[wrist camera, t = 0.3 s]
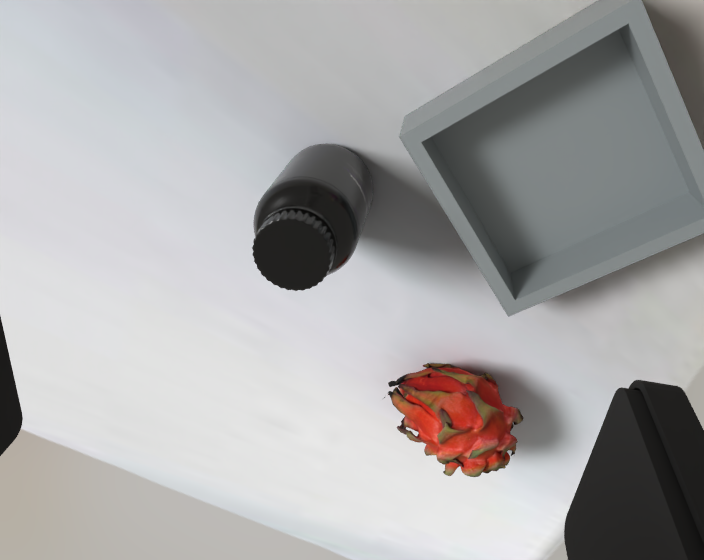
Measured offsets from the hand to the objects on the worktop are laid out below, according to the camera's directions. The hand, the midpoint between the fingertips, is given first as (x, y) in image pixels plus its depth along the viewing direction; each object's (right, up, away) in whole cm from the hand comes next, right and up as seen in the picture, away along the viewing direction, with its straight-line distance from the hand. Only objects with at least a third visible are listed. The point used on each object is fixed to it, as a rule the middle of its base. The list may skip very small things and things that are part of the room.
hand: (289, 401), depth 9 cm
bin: (+15, +11, +33) cm, 38 cm away
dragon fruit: (+10, -8, +45) cm, 46 cm away
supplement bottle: (-1, +9, +37) cm, 38 cm away
